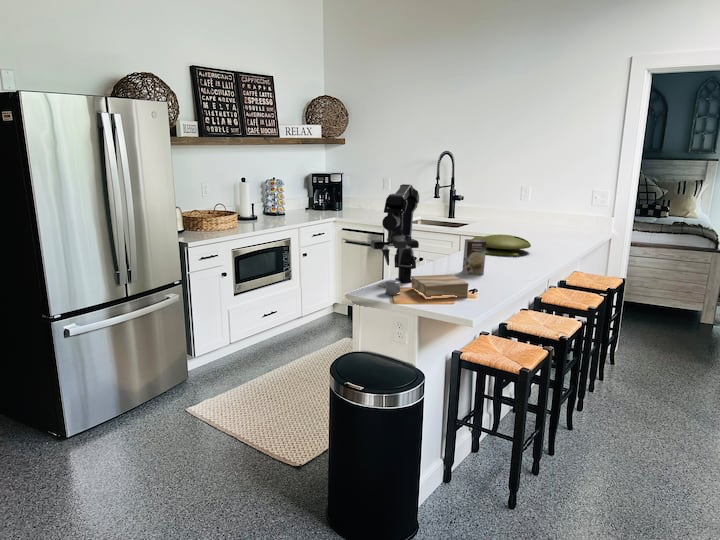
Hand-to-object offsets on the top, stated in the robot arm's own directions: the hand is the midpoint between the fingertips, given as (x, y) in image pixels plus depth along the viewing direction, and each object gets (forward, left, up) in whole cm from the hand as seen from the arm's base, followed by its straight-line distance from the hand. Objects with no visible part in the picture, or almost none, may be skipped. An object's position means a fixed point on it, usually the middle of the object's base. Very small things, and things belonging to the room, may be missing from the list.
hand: (393, 265), depth 214 cm
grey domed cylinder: (0, 0, -12) cm, 12 cm away
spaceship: (-76, +92, -13) cm, 120 cm away
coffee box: (-27, +50, -12) cm, 58 cm away
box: (+3, +19, -12) cm, 23 cm away
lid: (+3, +19, -7) cm, 20 cm away
